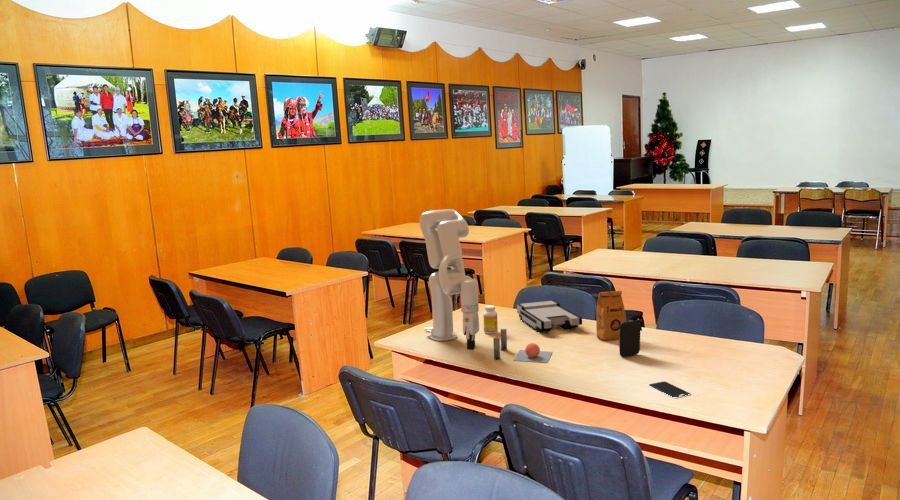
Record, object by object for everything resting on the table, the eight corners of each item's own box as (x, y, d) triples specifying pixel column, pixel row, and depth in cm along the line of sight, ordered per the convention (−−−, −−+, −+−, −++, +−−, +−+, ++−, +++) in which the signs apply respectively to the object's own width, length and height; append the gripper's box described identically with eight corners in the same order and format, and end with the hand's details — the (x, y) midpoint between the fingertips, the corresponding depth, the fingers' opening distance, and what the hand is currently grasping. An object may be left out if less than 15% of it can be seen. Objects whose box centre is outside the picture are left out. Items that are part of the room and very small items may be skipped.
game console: (541, 336, 284) (541, 319, 283) (517, 319, 315) (516, 304, 314) (582, 331, 289) (582, 315, 288) (554, 315, 320) (554, 300, 319)
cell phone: (674, 399, 207) (674, 397, 207) (648, 386, 220) (648, 384, 220) (692, 396, 210) (692, 394, 209) (664, 382, 222) (664, 380, 222)
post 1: (493, 360, 253) (492, 339, 251) (494, 358, 255) (494, 337, 254) (499, 360, 252) (498, 339, 251) (500, 358, 254) (500, 337, 253)
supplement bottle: (496, 334, 289) (496, 308, 287) (482, 334, 290) (482, 308, 288) (498, 330, 295) (497, 304, 293) (484, 330, 296) (484, 304, 294)
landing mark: (513, 360, 251) (513, 360, 251) (520, 350, 264) (520, 349, 264) (547, 363, 247) (547, 362, 247) (552, 352, 260) (552, 351, 260)
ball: (539, 349, 249) (535, 361, 251) (543, 345, 255) (538, 357, 257) (526, 343, 251) (521, 355, 253) (530, 339, 257) (525, 351, 258)
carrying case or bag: (639, 352, 255) (639, 318, 253) (643, 354, 252) (644, 320, 250) (617, 356, 251) (617, 321, 249) (622, 358, 249) (622, 323, 246)
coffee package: (628, 340, 272) (629, 292, 269) (601, 342, 271) (601, 294, 268) (620, 334, 282) (620, 287, 278) (594, 336, 281) (594, 289, 277)
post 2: (500, 350, 265) (499, 330, 264) (501, 348, 267) (501, 328, 266) (506, 350, 264) (505, 330, 263) (507, 348, 267) (507, 328, 265)
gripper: (473, 312, 252) (474, 355, 255) (482, 304, 267) (483, 344, 269) (456, 311, 255) (457, 354, 258) (466, 303, 269) (467, 343, 272)
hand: (471, 349), depth 263 cm, fingers closed
